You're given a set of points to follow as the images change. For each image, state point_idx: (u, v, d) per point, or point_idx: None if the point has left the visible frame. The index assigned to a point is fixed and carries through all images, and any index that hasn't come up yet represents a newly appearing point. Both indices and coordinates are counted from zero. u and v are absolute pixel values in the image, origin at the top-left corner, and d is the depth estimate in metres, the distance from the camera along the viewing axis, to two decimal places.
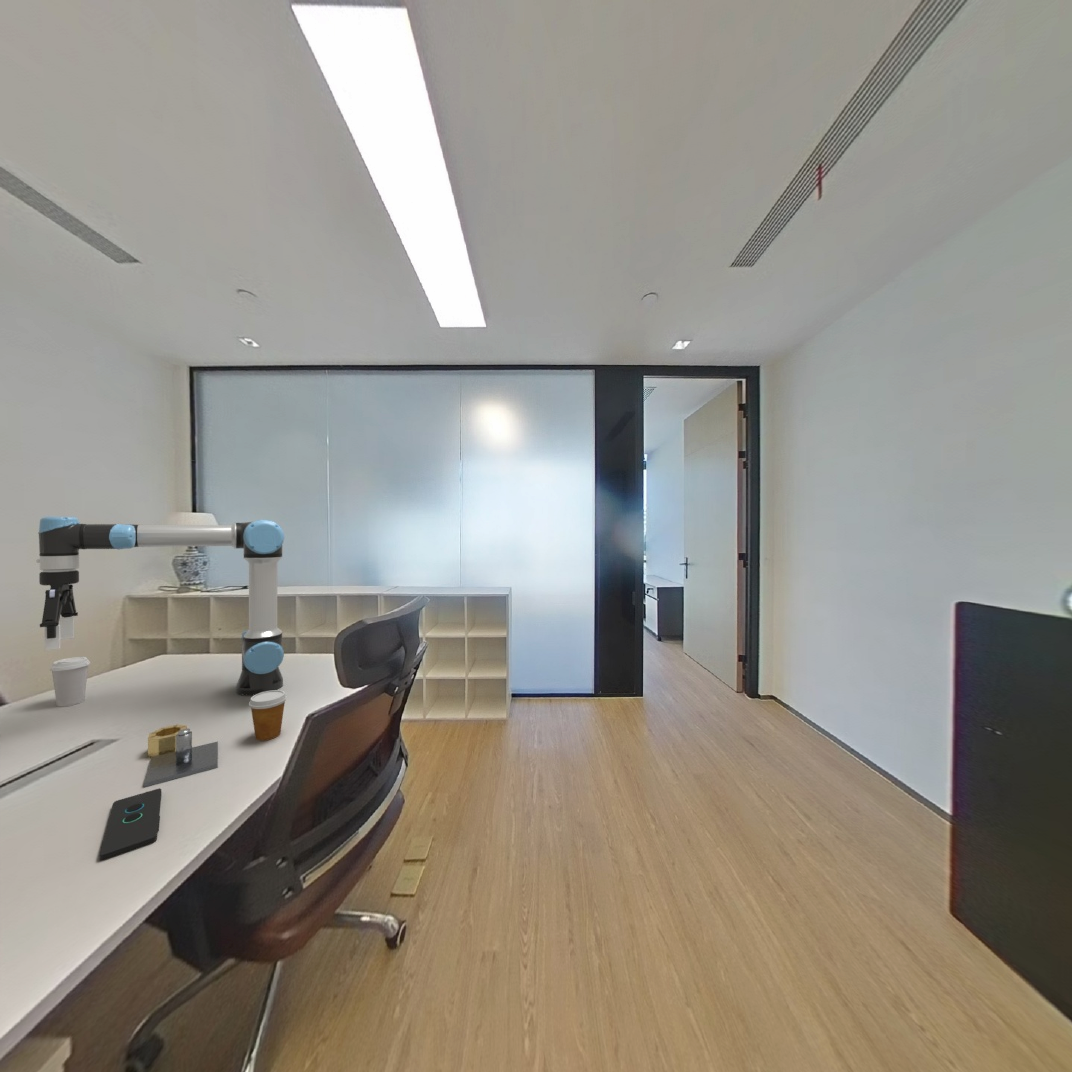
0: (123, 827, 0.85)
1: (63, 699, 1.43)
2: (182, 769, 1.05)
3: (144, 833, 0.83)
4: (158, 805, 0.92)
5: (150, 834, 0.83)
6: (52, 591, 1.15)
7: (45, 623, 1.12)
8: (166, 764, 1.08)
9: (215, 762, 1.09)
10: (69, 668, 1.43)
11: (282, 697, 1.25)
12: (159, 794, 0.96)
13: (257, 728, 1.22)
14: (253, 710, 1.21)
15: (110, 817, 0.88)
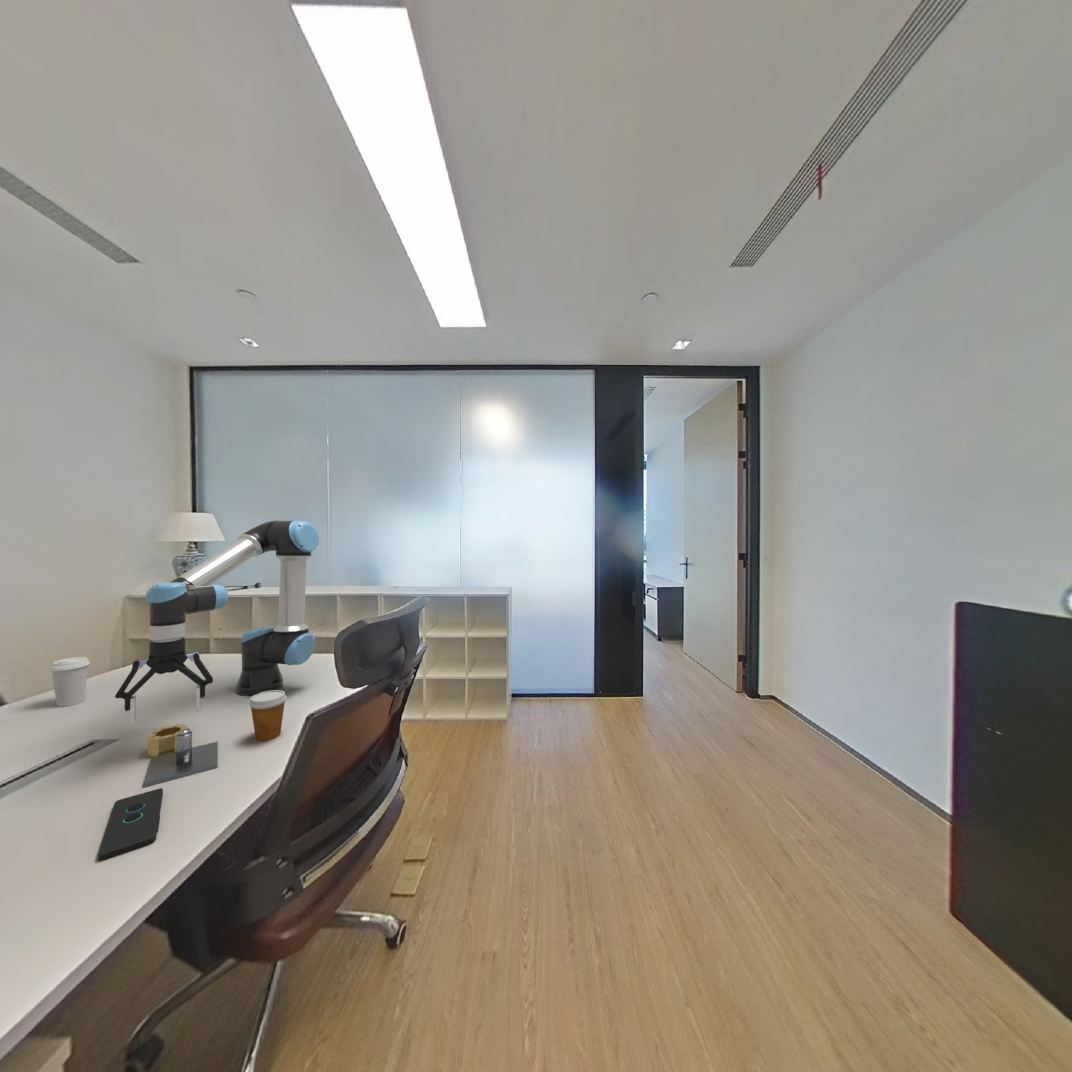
0: (123, 827, 0.85)
1: (63, 699, 1.43)
2: (182, 769, 1.05)
3: (143, 833, 0.83)
4: (159, 805, 0.92)
5: (149, 835, 0.83)
6: (134, 661, 1.12)
7: None
8: (166, 764, 1.08)
9: (215, 762, 1.09)
10: (69, 668, 1.43)
11: (282, 697, 1.25)
12: (160, 794, 0.96)
13: (257, 728, 1.22)
14: (253, 710, 1.21)
15: (111, 817, 0.88)
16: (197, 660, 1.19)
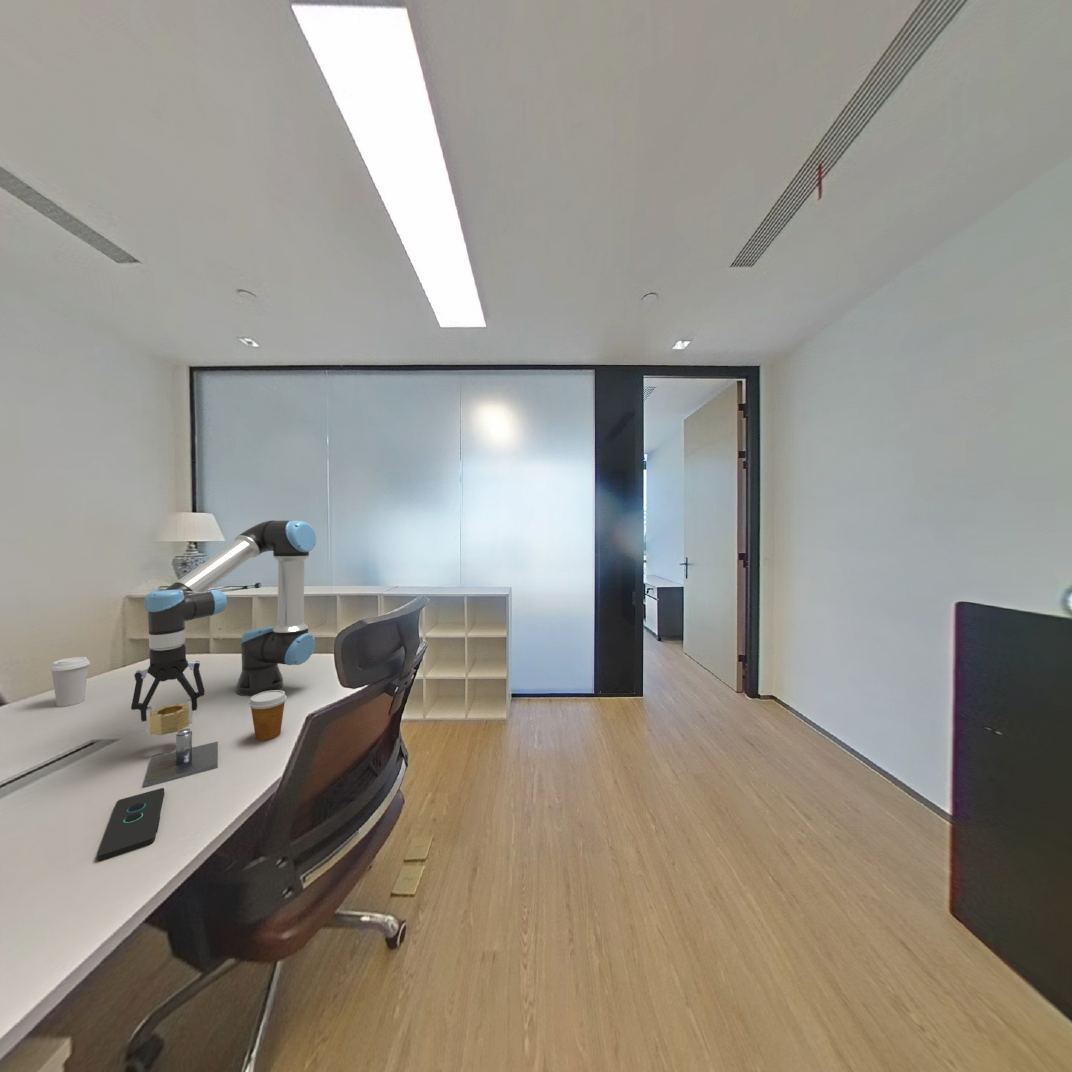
0: (123, 827, 0.85)
1: (63, 699, 1.43)
2: (182, 769, 1.05)
3: (143, 834, 0.83)
4: (159, 805, 0.92)
5: (148, 835, 0.83)
6: (135, 674, 1.12)
7: None
8: (166, 764, 1.08)
9: (215, 762, 1.09)
10: (69, 668, 1.43)
11: (282, 697, 1.25)
12: (161, 794, 0.96)
13: (257, 728, 1.22)
14: (253, 710, 1.21)
15: (112, 816, 0.88)
16: (196, 670, 1.19)
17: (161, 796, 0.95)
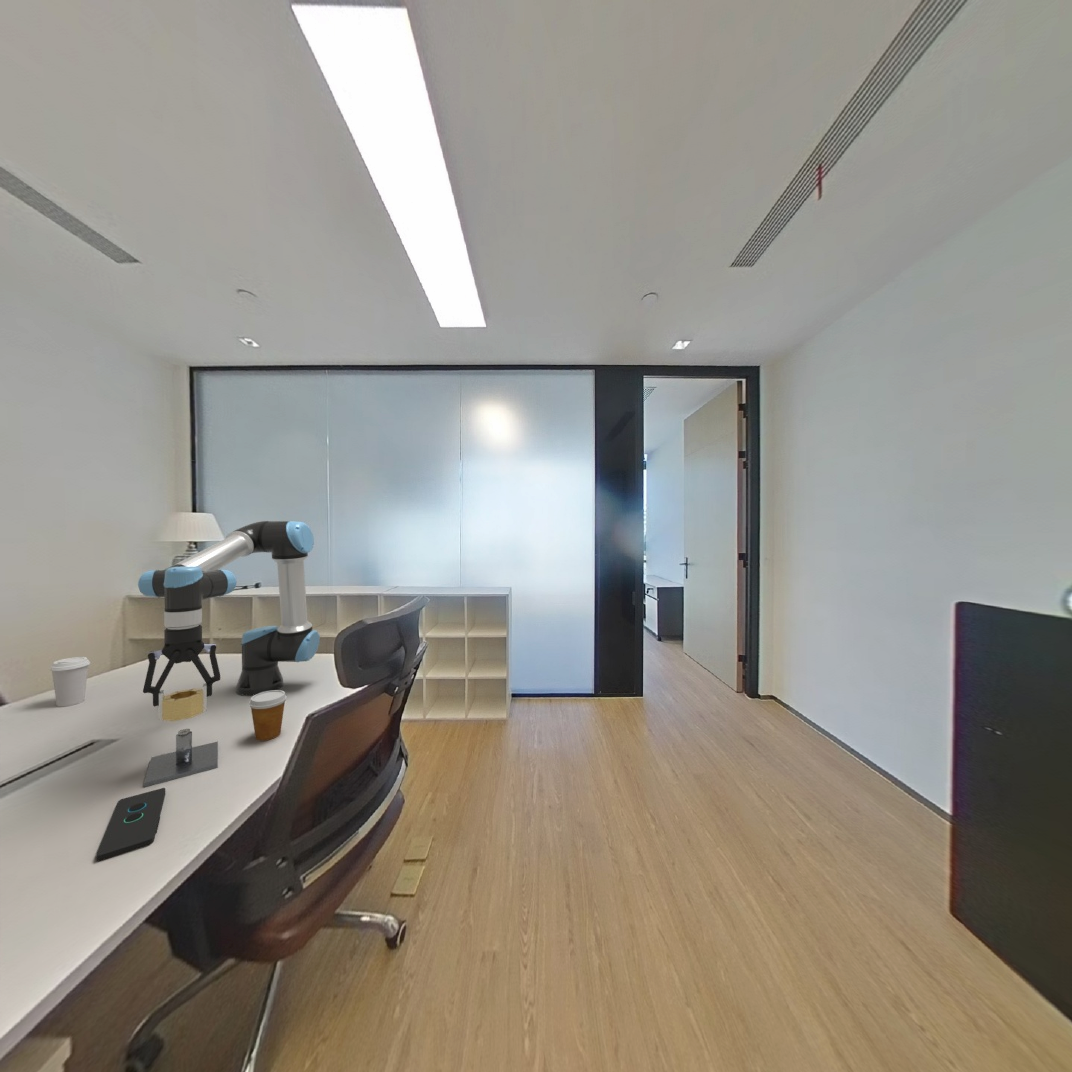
0: (123, 827, 0.85)
1: (63, 699, 1.43)
2: (182, 769, 1.05)
3: (142, 834, 0.83)
4: (160, 805, 0.92)
5: (147, 836, 0.83)
6: None
7: None
8: (166, 764, 1.08)
9: (215, 762, 1.09)
10: (69, 668, 1.43)
11: (282, 697, 1.25)
12: (162, 794, 0.96)
13: (257, 728, 1.22)
14: (253, 710, 1.21)
15: (113, 816, 0.88)
16: (213, 653, 1.12)
17: (162, 796, 0.95)
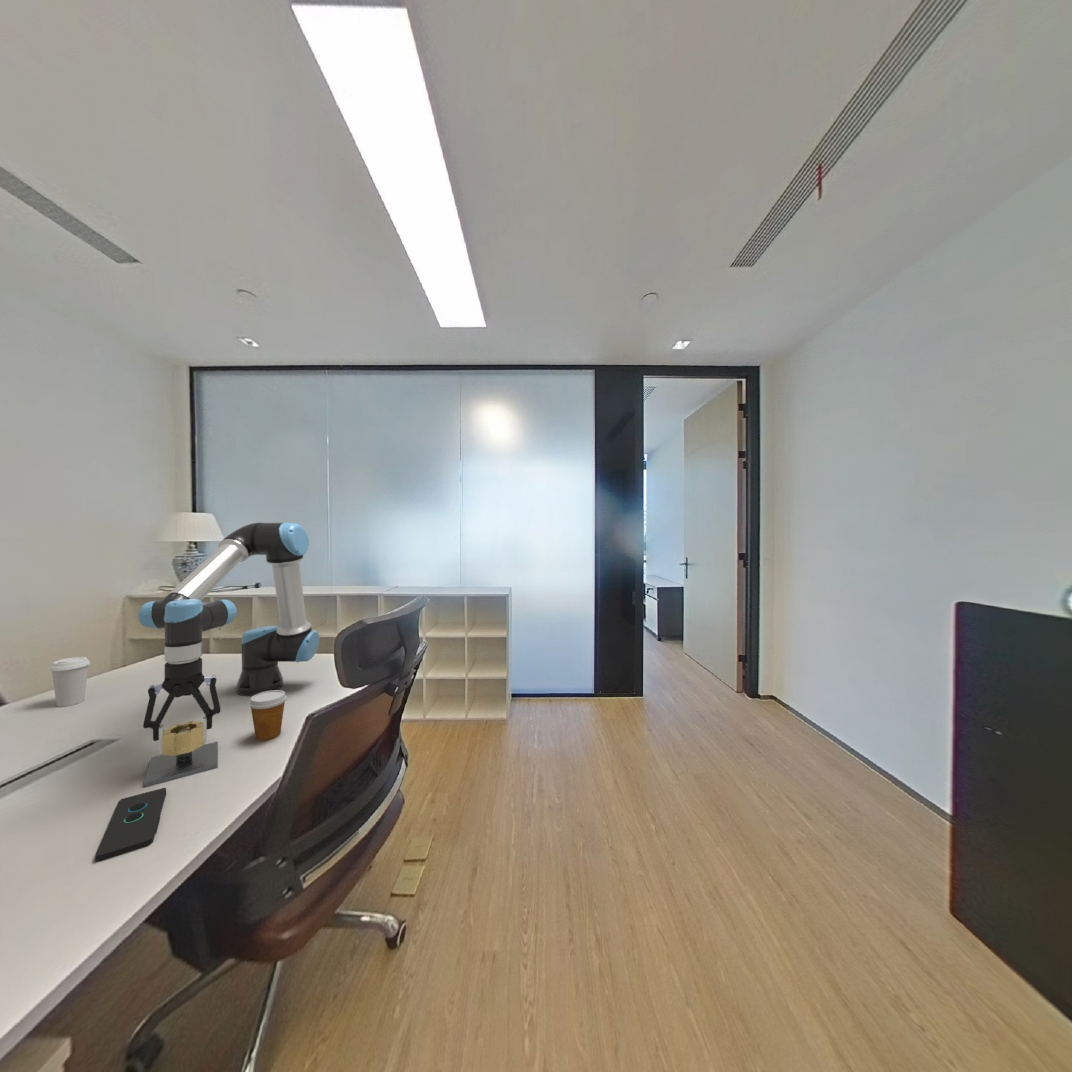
0: (123, 827, 0.85)
1: (63, 699, 1.43)
2: (182, 769, 1.05)
3: (141, 834, 0.83)
4: (160, 805, 0.92)
5: (147, 836, 0.83)
6: None
7: None
8: (166, 764, 1.08)
9: (215, 762, 1.09)
10: (69, 668, 1.43)
11: (282, 697, 1.25)
12: (163, 794, 0.96)
13: (257, 728, 1.22)
14: (253, 710, 1.21)
15: (113, 816, 0.88)
16: (213, 685, 1.12)
17: (162, 796, 0.95)
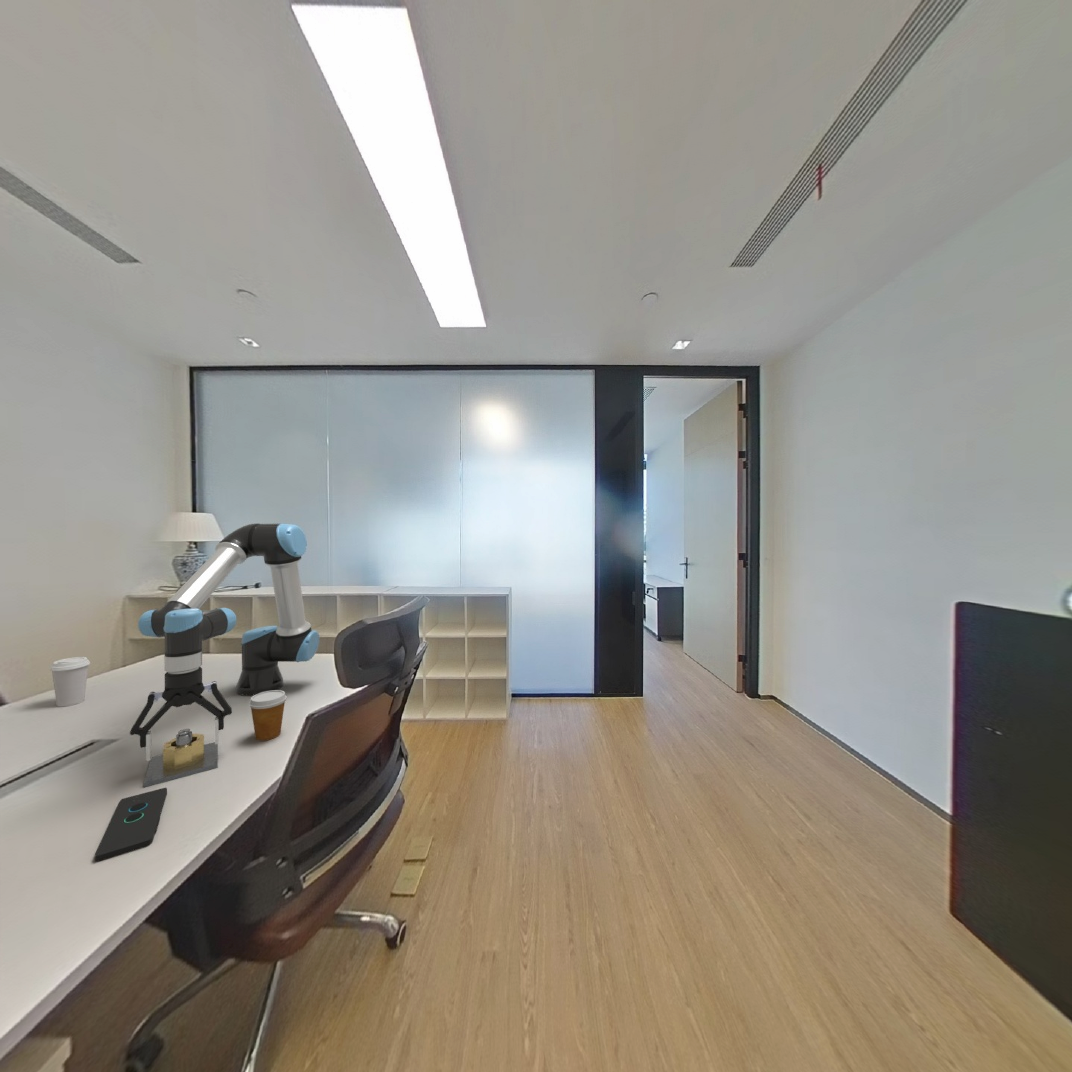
0: (123, 827, 0.85)
1: (63, 699, 1.43)
2: (182, 769, 1.05)
3: (141, 835, 0.83)
4: (160, 805, 0.92)
5: (146, 836, 0.83)
6: None
7: None
8: None
9: (215, 762, 1.09)
10: (69, 668, 1.43)
11: (282, 697, 1.25)
12: (164, 794, 0.96)
13: (257, 728, 1.22)
14: (253, 710, 1.21)
15: (114, 815, 0.88)
16: (215, 691, 1.12)
17: (163, 796, 0.95)
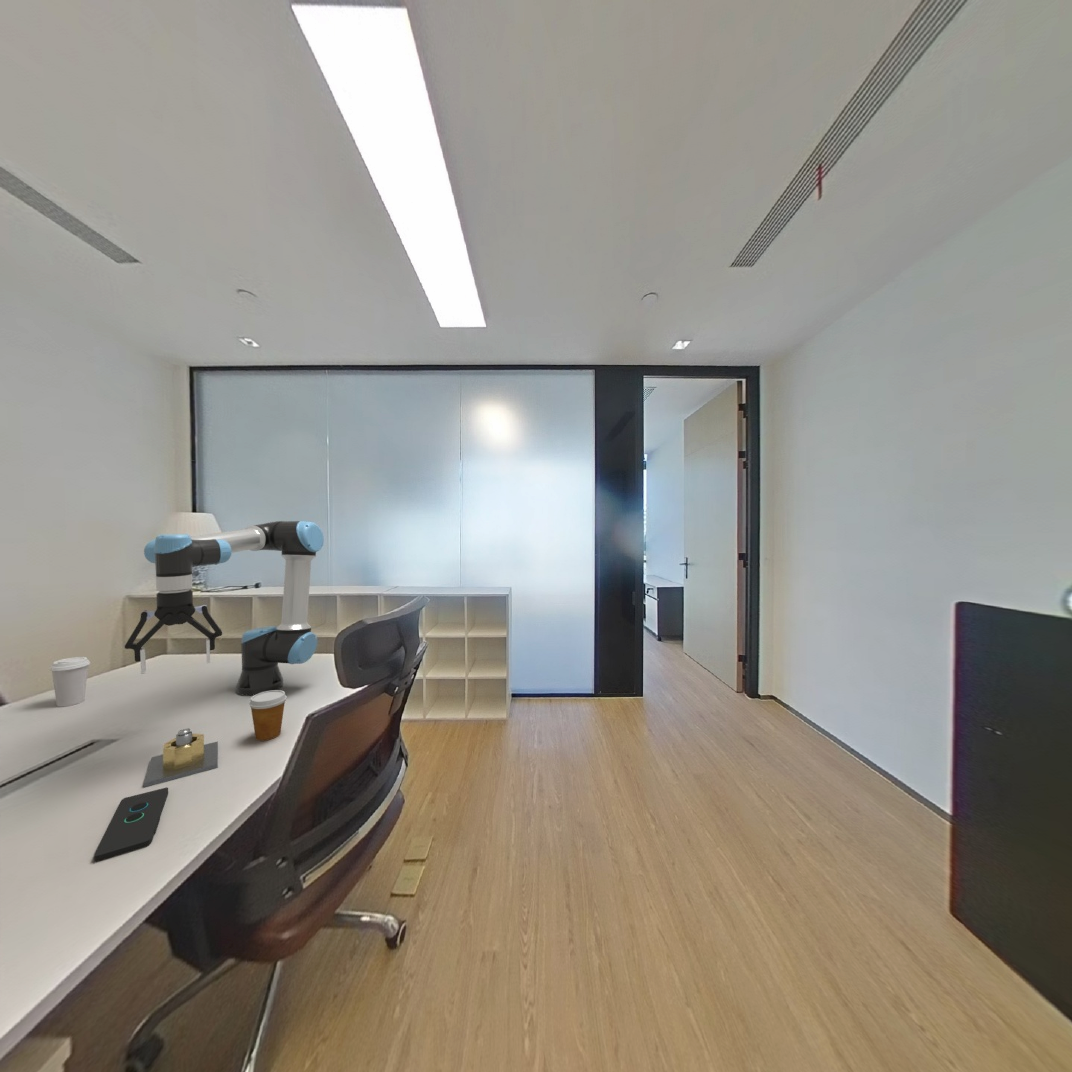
0: (123, 827, 0.85)
1: (63, 699, 1.43)
2: (182, 769, 1.05)
3: (140, 835, 0.83)
4: (161, 805, 0.92)
5: (145, 837, 0.82)
6: (141, 613, 1.11)
7: None
8: None
9: (215, 762, 1.09)
10: (69, 668, 1.43)
11: (282, 697, 1.25)
12: (165, 794, 0.96)
13: (257, 728, 1.22)
14: (253, 710, 1.21)
15: (114, 815, 0.88)
16: (206, 612, 1.18)
17: (164, 796, 0.95)
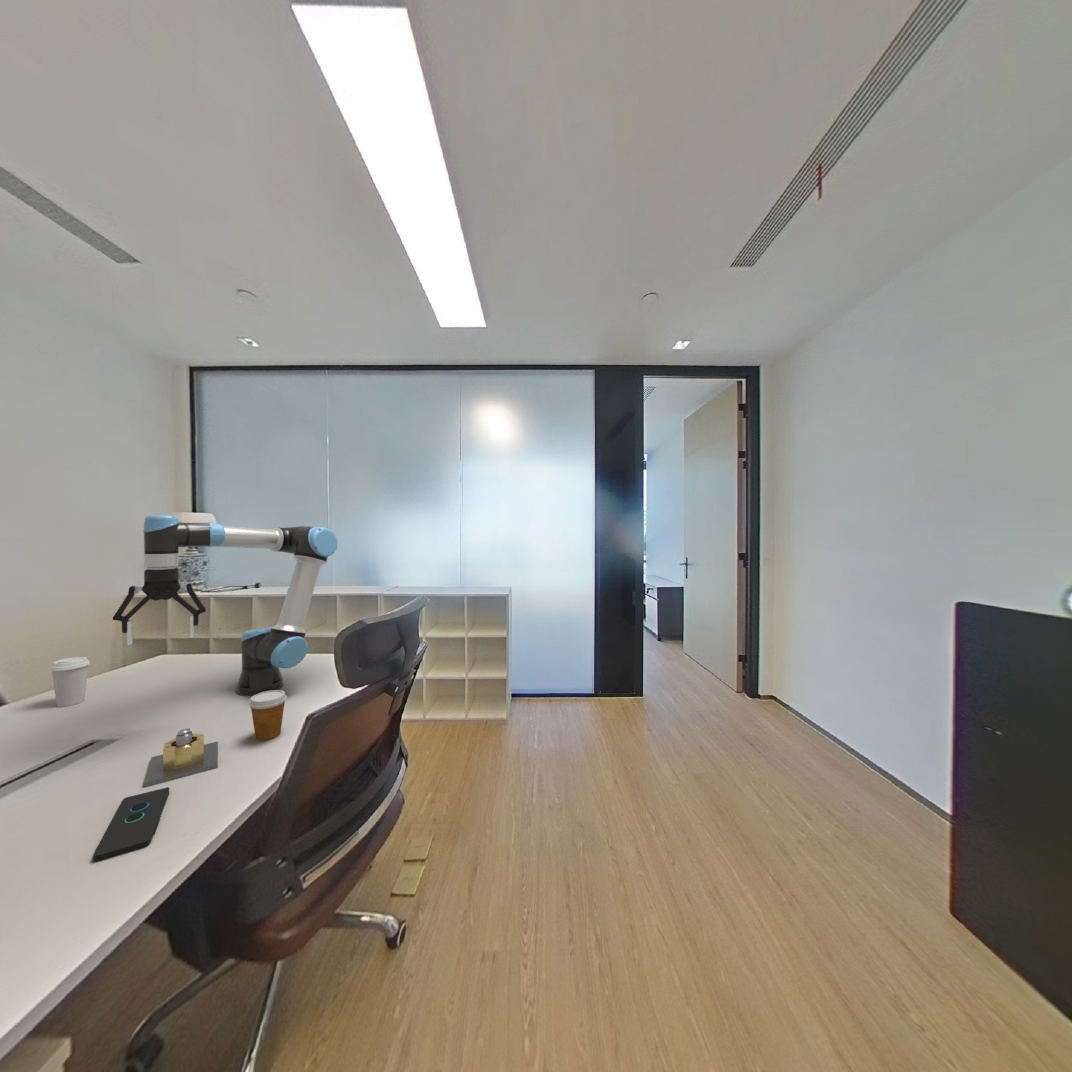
0: (123, 827, 0.85)
1: (63, 699, 1.43)
2: (182, 769, 1.05)
3: (140, 835, 0.83)
4: (161, 806, 0.92)
5: (144, 837, 0.82)
6: (130, 587, 1.19)
7: None
8: None
9: (215, 762, 1.09)
10: (69, 668, 1.43)
11: (282, 697, 1.25)
12: (166, 793, 0.96)
13: (257, 728, 1.22)
14: (253, 710, 1.21)
15: (115, 815, 0.89)
16: (190, 589, 1.26)
17: (165, 796, 0.95)
